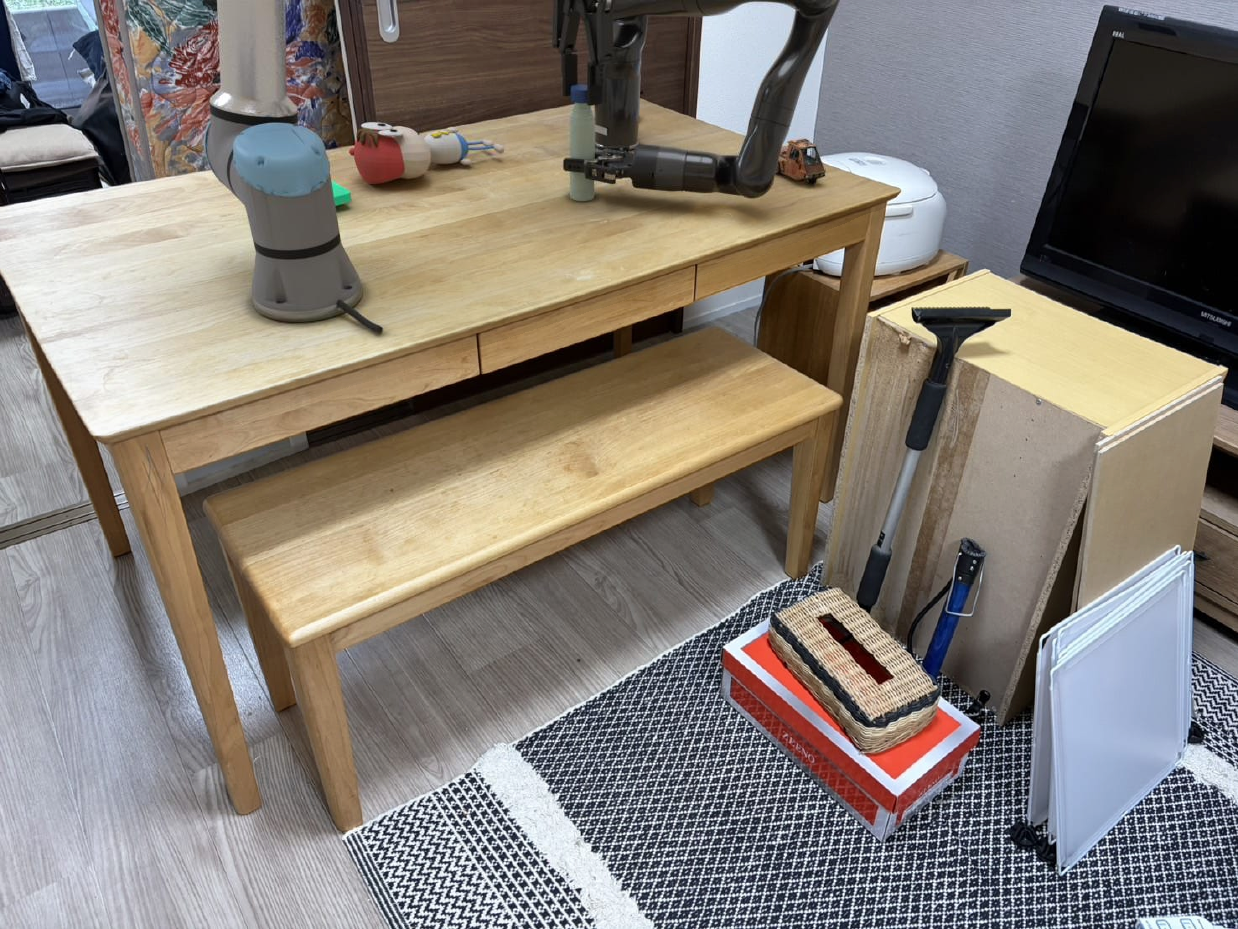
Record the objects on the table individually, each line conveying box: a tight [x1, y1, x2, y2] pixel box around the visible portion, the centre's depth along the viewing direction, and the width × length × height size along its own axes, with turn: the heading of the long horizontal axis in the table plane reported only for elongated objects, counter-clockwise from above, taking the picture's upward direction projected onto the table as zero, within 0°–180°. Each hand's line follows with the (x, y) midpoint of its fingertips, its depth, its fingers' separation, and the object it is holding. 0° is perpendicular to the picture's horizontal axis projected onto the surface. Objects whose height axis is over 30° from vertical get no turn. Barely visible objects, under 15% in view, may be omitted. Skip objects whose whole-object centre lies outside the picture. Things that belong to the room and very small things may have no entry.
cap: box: [570, 83, 587, 104], centre depth 159 cm, size 4×4×2 cm
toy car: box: [775, 138, 827, 186], centre depth 178 cm, size 6×12×7 cm, turn 39°
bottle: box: [569, 102, 596, 202], centre depth 164 cm, size 4×4×19 cm
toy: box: [348, 121, 505, 185], centre depth 177 cm, size 18×10×30 cm
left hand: (582, 99), depth 159 cm, fingers open, 6 cm apart
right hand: (567, 159), depth 166 cm, fingers closed on bottle, 4 cm apart
